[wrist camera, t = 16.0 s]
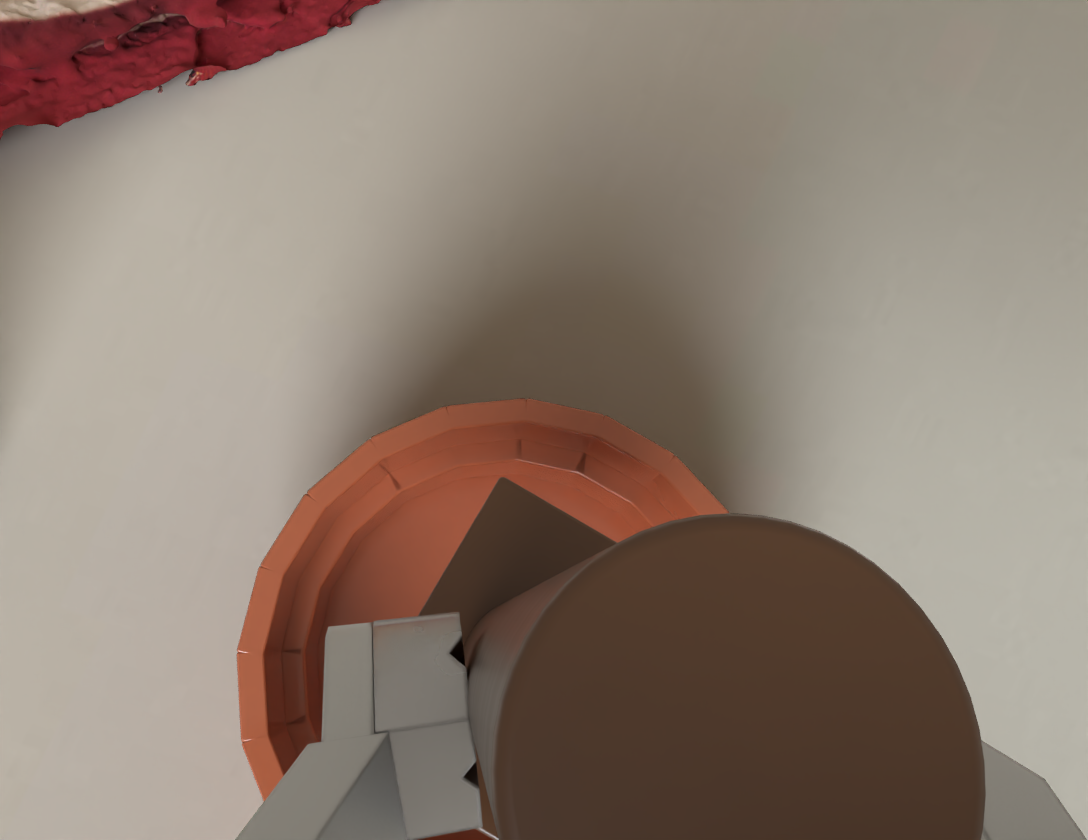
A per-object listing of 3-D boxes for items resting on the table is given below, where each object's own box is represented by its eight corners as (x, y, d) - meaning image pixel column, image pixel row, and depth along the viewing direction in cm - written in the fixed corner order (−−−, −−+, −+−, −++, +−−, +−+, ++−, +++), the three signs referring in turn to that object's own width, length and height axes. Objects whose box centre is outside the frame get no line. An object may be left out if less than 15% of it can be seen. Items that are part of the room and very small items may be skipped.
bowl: (793, 572, 28) (864, 560, 23) (591, 985, 25) (623, 1070, 20) (427, 364, 28) (420, 309, 23) (189, 748, 26) (125, 776, 21)
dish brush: (491, 503, 21) (622, 118, 5) (662, 603, 21) (1318, 515, 5) (361, 725, 20) (21, 1090, 4) (541, 832, 19) (919, 1633, 4)
